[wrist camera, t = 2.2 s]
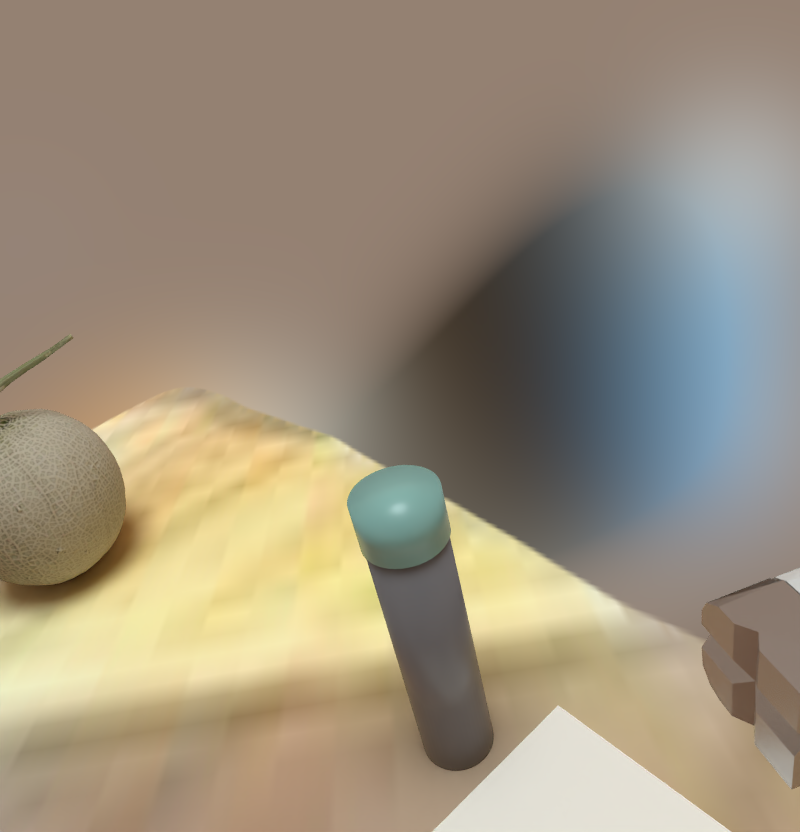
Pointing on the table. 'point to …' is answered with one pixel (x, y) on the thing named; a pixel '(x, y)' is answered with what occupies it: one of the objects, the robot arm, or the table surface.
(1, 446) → the fruit
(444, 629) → the marker
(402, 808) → the table surface
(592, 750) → the paper
